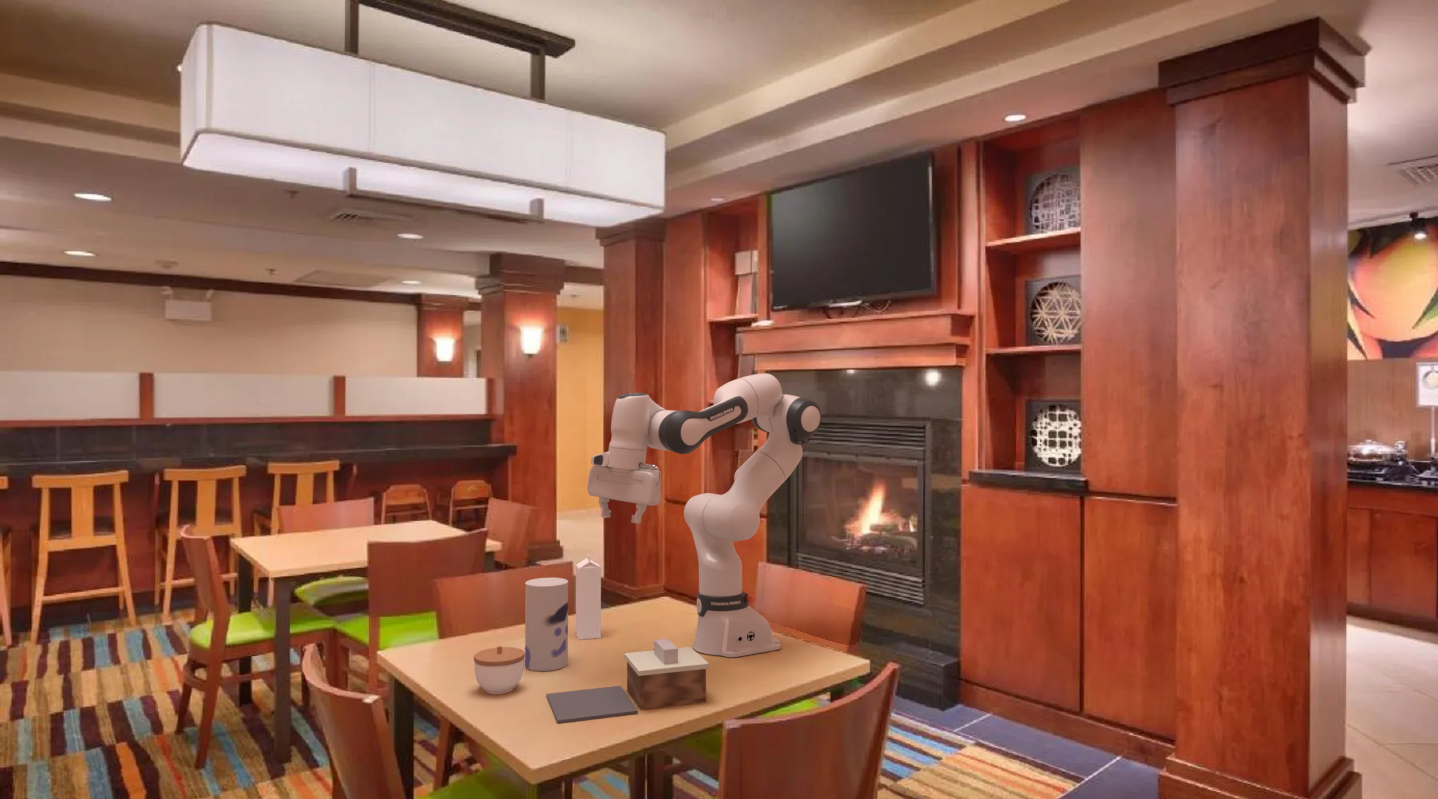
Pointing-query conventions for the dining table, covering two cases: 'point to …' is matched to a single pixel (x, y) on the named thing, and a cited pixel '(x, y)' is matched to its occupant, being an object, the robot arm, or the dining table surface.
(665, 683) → the box
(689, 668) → the lid
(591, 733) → the dining table surface
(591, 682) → the dining table surface
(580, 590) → the milk
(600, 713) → the mat
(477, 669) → the lidded jar
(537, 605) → the container
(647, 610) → the dining table surface
